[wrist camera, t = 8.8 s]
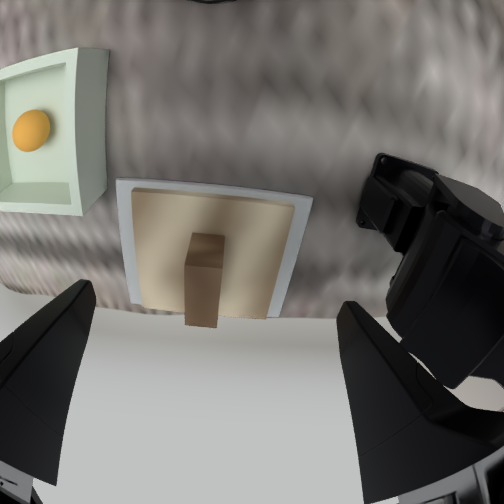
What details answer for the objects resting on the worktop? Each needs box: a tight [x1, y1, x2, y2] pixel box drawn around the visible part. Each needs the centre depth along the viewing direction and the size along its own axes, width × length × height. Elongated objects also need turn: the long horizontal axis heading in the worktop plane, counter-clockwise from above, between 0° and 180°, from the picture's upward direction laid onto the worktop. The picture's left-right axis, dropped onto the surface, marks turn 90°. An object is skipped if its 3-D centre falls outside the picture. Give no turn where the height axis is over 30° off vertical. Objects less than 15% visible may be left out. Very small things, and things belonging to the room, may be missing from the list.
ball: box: [12, 110, 50, 152], centre depth 14 cm, size 3×3×3 cm
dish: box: [0, 47, 110, 216], centre depth 14 cm, size 11×11×4 cm
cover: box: [131, 187, 295, 328], centre depth 22 cm, size 12×12×5 cm
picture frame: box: [116, 178, 313, 317], centre depth 24 cm, size 15×13×1 cm
